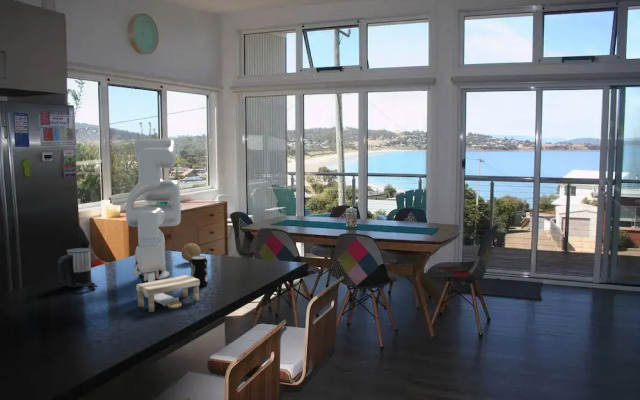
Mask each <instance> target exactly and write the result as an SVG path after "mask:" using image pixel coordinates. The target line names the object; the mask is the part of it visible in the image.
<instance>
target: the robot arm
mask: <svg viewBox="0 0 640 400" xmlns="http://www.w3.org/2000/svg"><path fill="white" fill-rule="evenodd" d="M133 152H134V155H135V158H136V161H137V163H138V164H137V165H138V166H137V167H138V171H137V172H138V173H137V179H138V180H137V184H136V185H135V186H134V187H133V188H132V189H131V190H130V192H129V194H128V195H127V198H126V201H125V202H126V203H125V204H126V205H125V220H126V224H127V225H128V226H130V227H134V228H135V227H137V237H138V239H137V240H138V245H137V246H136V248H135V253H134V266H133V267H134V270H133V272H132V275H133V276H135V277H138V278H139V279H140V280H141V282H142V283H146V282H148V280H147V272H155V281H157V280H162V279H167V278H169V276H170V272H169V271H167V267H166V243H165V241H166V240H165V235H164V233H163V232H162V230H161V229H160V228H159V227H176V226H178V225H179V224H180V223H181V220H182V219H181V218H182V215H181V214H182V213H181V210H182V209H181V190H180V185H179V183H178V181H177V180H174V179H163V175H162V174H163V173H162V169H166V168H167V169H171V168H173V167H174V166H175V164H176V158H177V155H176V154H177V146H176V142H175V141H174V140H173V139H171V138H141V139H137V140H135V141H134V142H133ZM139 197H142V199H143V200H144V201H145V202H150V203H156V202H157V203H159V202H160V203H161V202H167V203H169V204H145V205H143V206H141V207H140V206H139V207H138V206H137V207H134V205H135V202H136V200H137V199H138V198H139Z"/></svg>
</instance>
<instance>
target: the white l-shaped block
mask: <svg viewBox="0 0 640 400" xmlns="http://www.w3.org/2000/svg"><path fill="white" fill-rule="evenodd" d="M147 280H148V282H152V281H155V272H147ZM144 297H145V298H147V299H148V295H147V294H145V293H144ZM172 301H179V302H180V298H179V297H178V296H176V297H174V296H171V295H168V294H167V293H165V292H164V293H160V294H155V295H154V302H155V303H158V304H160V305H162V306H163V307H167V303H169V302H172Z"/></svg>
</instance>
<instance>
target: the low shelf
mask: <svg viewBox="0 0 640 400" xmlns="http://www.w3.org/2000/svg"><path fill="white" fill-rule="evenodd" d="M199 285H200V280H199V279H196V278H194V277H191V275H187V274H183V275H177V276H173V277H166V278H162V279H158V280H157V281H152V282H146V283H137V284H135V286H136V288H135V289H136V291H137V307H138V308H142V307H145V302H144V301H145V300H144V297H145V294H147V295H148V298H147V300H148V301H147V303H148V308H147V309H148V313H154V312H156V311H155V301H154V295H155V294H160V293H164V294H165V293H168V292H172V291H177V290H182V297H183V298H185V297H186V298H187V297H188V295H189V288H192V287H193V288H192V289H193V290H192V291H193V301H194V302H199V301H200V288H199Z"/></svg>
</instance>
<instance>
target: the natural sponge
mask: <svg viewBox="0 0 640 400" xmlns="http://www.w3.org/2000/svg"><path fill="white" fill-rule="evenodd" d="M201 253H202V252H201V247H200V246H199V244H196V243H192V242H189V243H187V244H185V245H184V246H183V247H182V248H181V258H182V259H184V261H187V262H188V263H189V264H191V260H192V257H194V256H201Z"/></svg>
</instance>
